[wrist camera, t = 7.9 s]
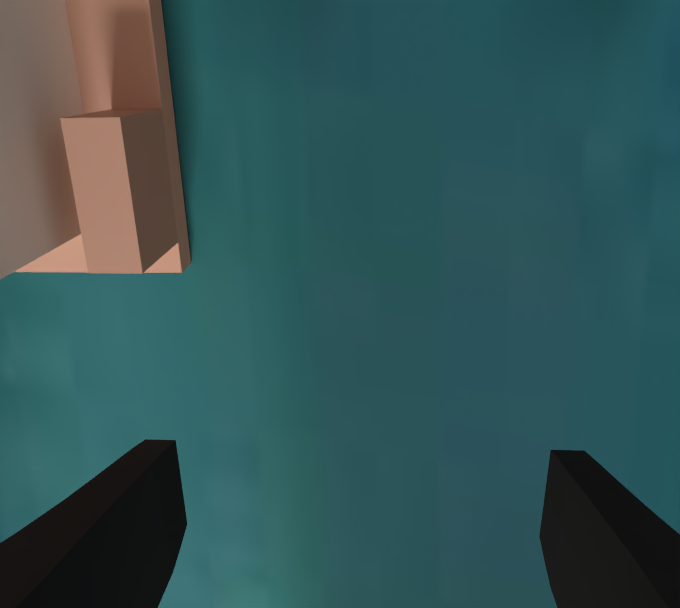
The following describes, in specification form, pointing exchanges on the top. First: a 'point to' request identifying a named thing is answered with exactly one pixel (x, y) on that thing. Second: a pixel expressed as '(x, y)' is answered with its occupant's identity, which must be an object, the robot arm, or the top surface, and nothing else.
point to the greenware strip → (35, 130)
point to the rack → (122, 146)
